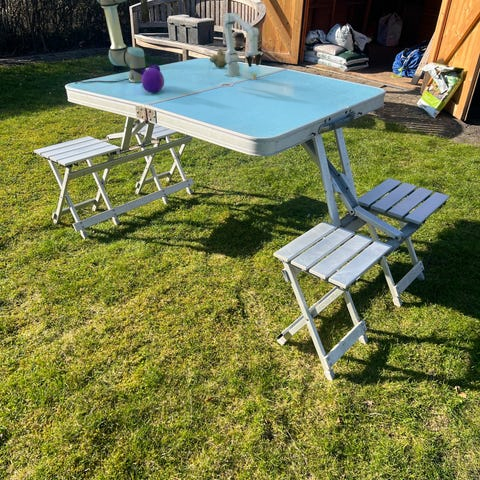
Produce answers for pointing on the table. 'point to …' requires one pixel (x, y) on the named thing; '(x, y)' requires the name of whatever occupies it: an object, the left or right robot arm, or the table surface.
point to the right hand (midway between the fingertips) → (253, 66)
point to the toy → (152, 79)
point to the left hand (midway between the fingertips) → (146, 22)
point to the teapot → (219, 59)
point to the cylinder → (253, 76)
